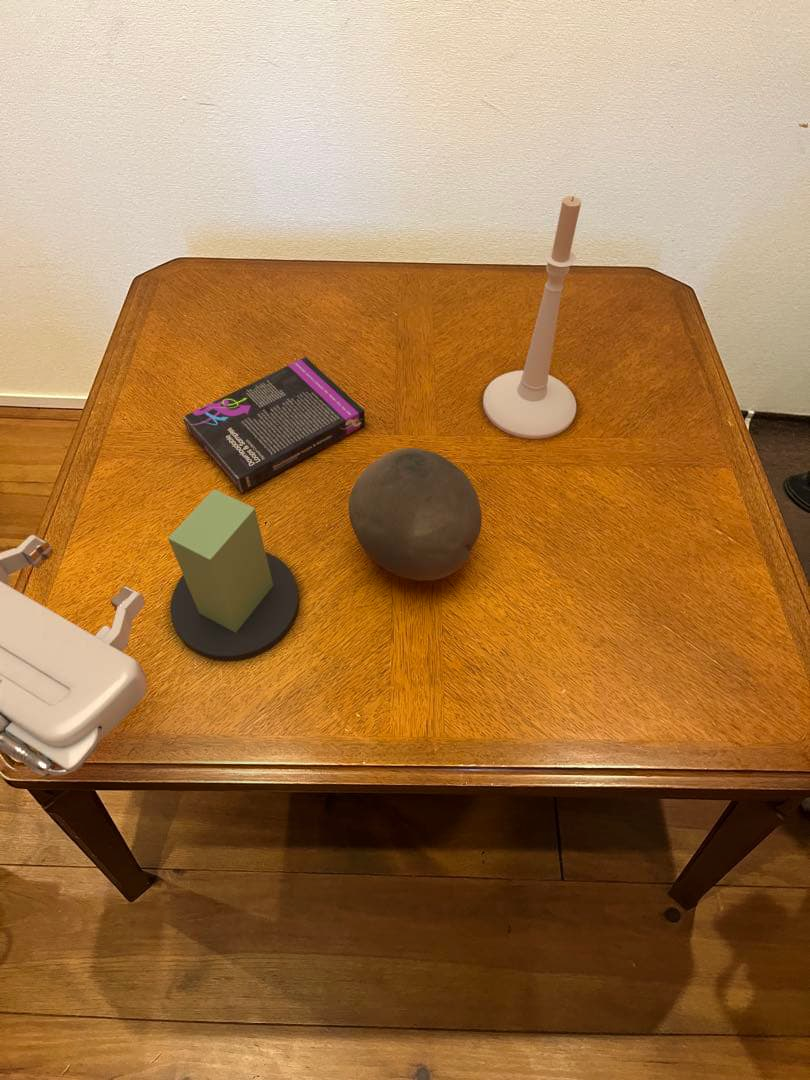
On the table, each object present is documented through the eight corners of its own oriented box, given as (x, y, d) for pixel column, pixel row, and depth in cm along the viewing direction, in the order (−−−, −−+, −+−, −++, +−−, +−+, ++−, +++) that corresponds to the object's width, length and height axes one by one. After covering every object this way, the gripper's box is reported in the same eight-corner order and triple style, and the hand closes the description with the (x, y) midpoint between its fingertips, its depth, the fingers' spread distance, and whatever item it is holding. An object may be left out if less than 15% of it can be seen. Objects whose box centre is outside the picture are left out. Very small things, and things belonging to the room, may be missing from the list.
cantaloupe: (447, 497, 92) (455, 409, 80) (493, 587, 84) (510, 506, 72) (339, 526, 89) (331, 441, 77) (376, 623, 81) (373, 544, 69)
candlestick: (470, 382, 105) (495, 173, 80) (554, 367, 107) (603, 159, 82) (501, 446, 97) (538, 238, 73) (590, 429, 99) (655, 221, 75)
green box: (198, 613, 80) (167, 537, 69) (237, 567, 84) (213, 488, 73) (235, 633, 79) (210, 559, 68) (273, 585, 83) (255, 508, 71)
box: (308, 374, 106) (186, 432, 98) (306, 354, 103) (180, 412, 95) (366, 429, 99) (240, 495, 92) (366, 409, 96) (235, 476, 89)
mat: (232, 686, 77) (230, 681, 76) (146, 610, 82) (143, 605, 81) (325, 598, 83) (324, 592, 82) (239, 533, 88) (238, 527, 87)
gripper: (42, 774, 45) (187, 605, 52) (-182, 626, 50) (-22, 491, 57) (76, 804, 50) (203, 646, 57) (-130, 666, 55) (10, 538, 63)
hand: (89, 567), depth 57 cm, fingers open, 8 cm apart
